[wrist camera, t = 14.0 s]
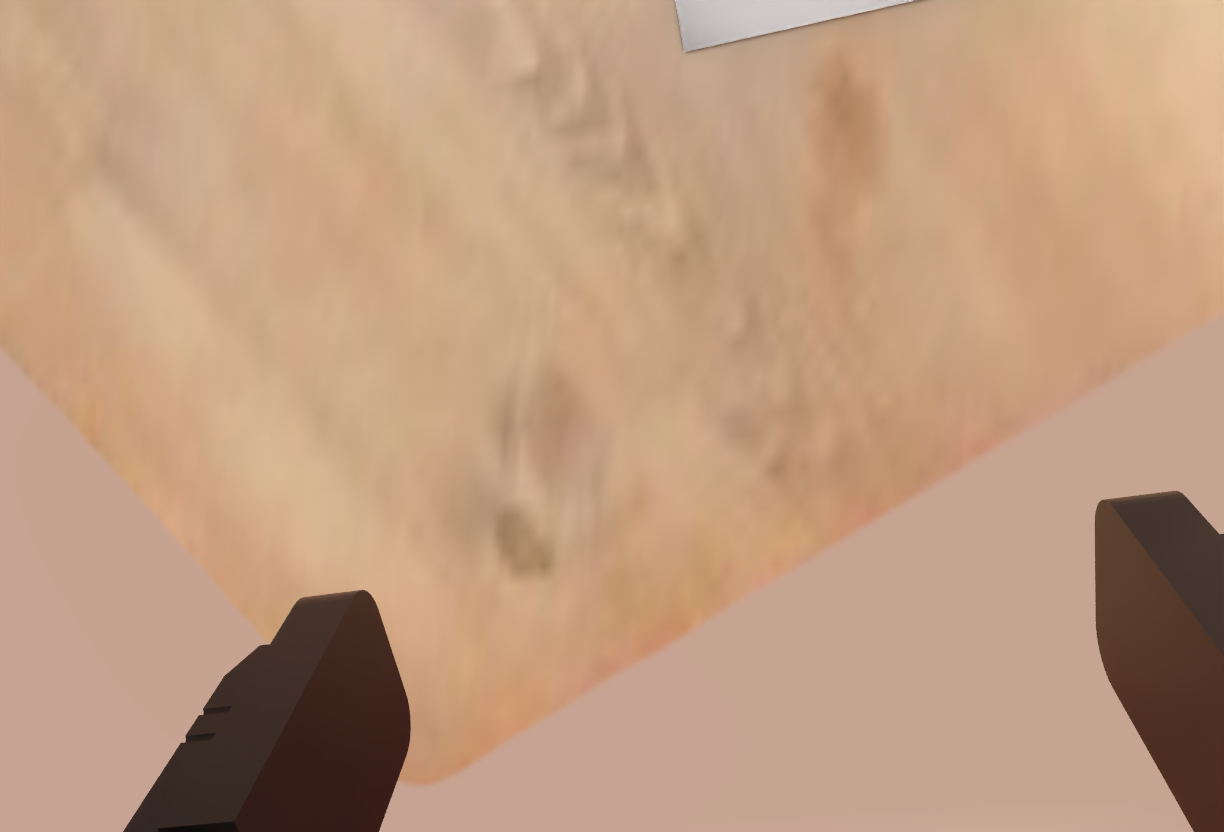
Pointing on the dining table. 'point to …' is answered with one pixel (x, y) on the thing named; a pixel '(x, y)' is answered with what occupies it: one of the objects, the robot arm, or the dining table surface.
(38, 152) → the dining table surface
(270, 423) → the dining table surface
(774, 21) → the slate coaster
